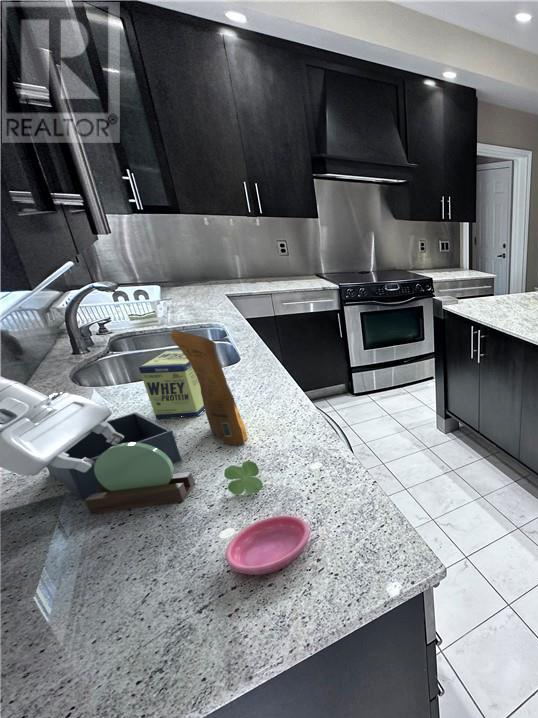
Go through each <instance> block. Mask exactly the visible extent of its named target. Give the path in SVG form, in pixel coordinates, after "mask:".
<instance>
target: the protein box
mask: <svg viewBox="0 0 538 718" xmlns="http://www.w3.org/2000/svg"><path fill="white" fill-rule="evenodd" d="M138 370H139V373H140V376H141V379H142V382H143V385H144V387H145V390H146V393H147V397H148V399H149V402H150V405H151V408H152V411H153V414H154V416H155V419H156V420H158V419H157V418H164V419H172V418H171V417H180V418H186V417H185V416H198V415H199V414H200V413H201V412H202V411H203V410H204V409H205V408H204V404H203V399H202V395H201V388H200V384H199V381H198V378H197V376H196V374H195V372H194V370H193V368H192V366H191V364H190V362H189V361H188V359H187V358H186V356H185V355H184V354H183V352H182V351H181V349H180V348H178V349H168V350H165V351H164V352H162V353H161V354H159V355H157V356H156V357H154V358H152V359H151V360H149V361H148V362H147V361H146V363H144V364H142V365H140V366H138ZM204 411H205V410H204ZM204 411H203V412H204ZM203 412H202V413H203ZM202 413H201V414H202ZM201 414H200V415H201ZM200 415H199V416H200ZM181 416H182V417H181ZM183 416H184V417H183ZM199 416H198V417H199Z"/></svg>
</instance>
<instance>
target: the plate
mask: <svg viewBox="0 0 538 718" xmlns="http://www.w3.org/2000/svg"><path fill="white" fill-rule="evenodd" d="M94 472H95V475H96V478H97V480H98V481H99V482H100V483H101V484H102V485H103V486H104V487H105V488H106V489H108V490H110V491H119V490H127V489H136V488H144V487H152V486H160V485H168V484H169V482H170V481H171V479H172V478H173V475H174V473H175V466H174V463H173V464H172V462H171V460H170V458H169V457H168V456H167V455H166V454H165V453H164V452H162V451H161V450H159V449H157V448H155V447H153V446H151V445H147V444H143V443H135V442H129V443H121V444H117V445H115V446H112V447H110V448H108V449H107V450H106V451H104V452H103V453H102V454H101V455H100V456H99V457H98V459H97V460H96V462H95V465H94Z"/></svg>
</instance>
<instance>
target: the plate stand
mask: <svg viewBox="0 0 538 718" xmlns="http://www.w3.org/2000/svg"><path fill="white" fill-rule="evenodd" d="M195 486H196V481H195V478H194V476H193V472H192V471H185V472H183V471H182V472H174V475H173V478H172V479H171V481H170V482H169V484H168V485H160V486H152V487H144V488H136V489H127V490H119V491H110V490H108V489H106V488H105V487H104V486H103V485H102V484H101V485H100V486H99V487H98V489H99V491H100V493H94V494H91V495H90V496H89V497H88V498H87V499H86V500H84V502H85V504H86V506H87V509H88V511H89V513H90V514H91V515H94V514H102V513H109V512H117V511H125V510H132V509H133V510H134V509H139V508H140V509H141V508H147V507H155V506H163V505H170V504H177V503H184V502H185V500H186V499H187V497H188V496H189V494H190V493H191V492H192V490H193V488H194V487H195Z"/></svg>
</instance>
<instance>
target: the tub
mask: <svg viewBox="0 0 538 718" xmlns="http://www.w3.org/2000/svg"><path fill="white" fill-rule="evenodd" d="M105 422H107V423H109V424H110V425H111V426H112V427H113V428H114V430H115V432H117V433H120V434H122V435H123V436H124V438H123V439H122V440H121V441H120V442H119V443H118V444H121V443H129V442H135V443H143V444H147V445H151V446H153V447H155V448H157V449H159V450H161V451H162V452H164V453H165V454H166V455H167V456H168V457H169V458H170V460H171V462H172V464H173V465H174V464H175V463H176V462H180V461H182V457H181V454H180V451H179V447H178V444H177V441H176V439H175V436H174V432H173V430H172V429H170V428H168V427H166V426H163V425H162V424H159V423H158V422H156V421H154V420H152V419H151V418H149V417H146V416H144V415H143V414H141V413H139V412H137V411H136V412H132V413H128V414H126V415H122V416H119V417H116V418H113V419H109V420H106V421H105ZM106 441H107V438H106V437H105V436H104V435H103V434H102V433H100V434H97V433H95V432H93V431H92V432H91V433H90V434H88V435H87V436H86V437H85V438H83V439H82V440H81V441H79V442H78V443H77V444H75V445H74V446H73V447H71V448H70V449H69V450H68V451H66V452H65V453H66V454H69V456H68V457H71V458H77V459H83V458H84V457H86V458H88V459H89V460H93V461H94V462H96V460H97V459H98V457H99V456H100V455H101V454H102V453H103V452H104V451H106V450H107V449H108V448H110V447H112V446H115V445H113V444H111V443H108V442H106ZM94 465H95V464H94ZM94 465H93V466H92V467H91V468H90V469H89V470H88V471H87V472H81V471H79V470H76V469H74V468H73V469H70V468H57V467H54V466H52V465H48V466H47V467H46V469H47V471H48V474H49V475H50V476H52V477H53V478H54V479H56V481H58V482H59V483H61V484H62V485H63V486H64V487H66V488H67V489H68V490H69V491H71V492H72V494H74V495H75V496H76V497H78V498H79V499H80V500H82V501H84V502H85V500H86V499H87V498H88V497H89V496H90V495H91V494H94V493H100V491H99V489H98V487H99V486H100V485H101V483H100V482H99V481H98V480H97V478H96V475H95V472H94Z"/></svg>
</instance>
